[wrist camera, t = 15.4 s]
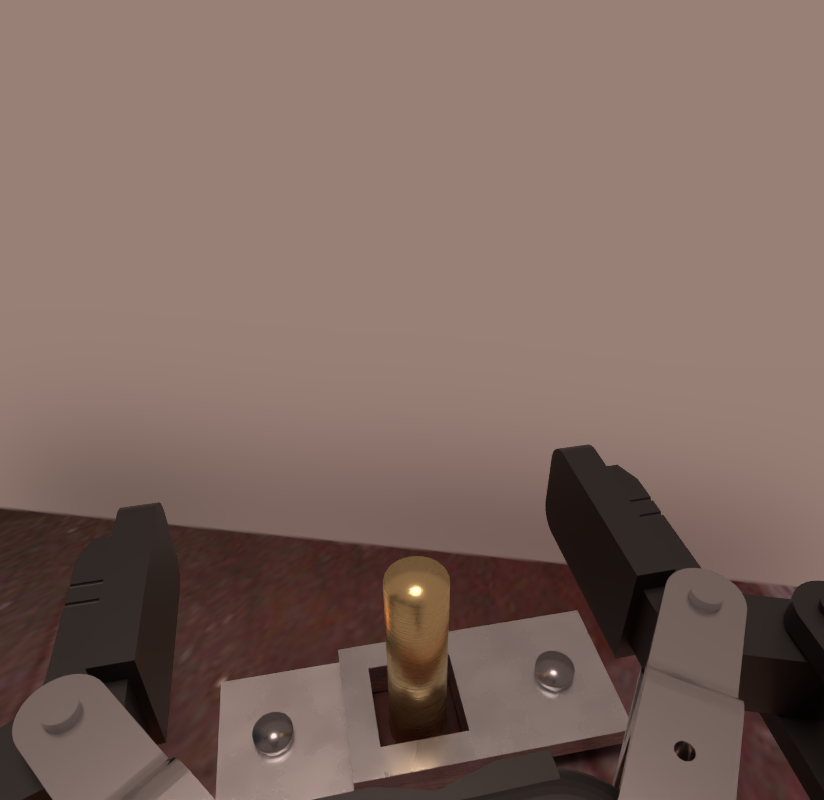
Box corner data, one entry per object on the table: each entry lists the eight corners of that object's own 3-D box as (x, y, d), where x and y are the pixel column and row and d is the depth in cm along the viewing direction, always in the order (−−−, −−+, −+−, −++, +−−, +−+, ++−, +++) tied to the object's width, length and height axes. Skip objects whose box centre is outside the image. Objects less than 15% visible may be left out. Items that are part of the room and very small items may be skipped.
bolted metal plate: (218, 835, 35) (207, 804, 34) (224, 694, 42) (216, 663, 40) (627, 754, 38) (635, 722, 37) (572, 635, 45) (578, 604, 43)
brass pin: (394, 756, 38) (388, 612, 32) (386, 703, 41) (378, 561, 34) (451, 745, 39) (456, 602, 32) (439, 694, 42) (442, 552, 35)
